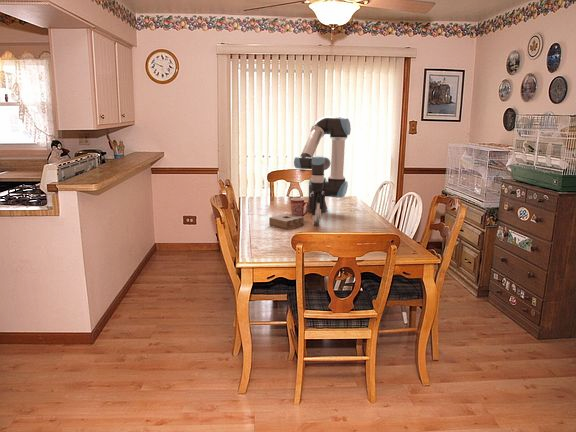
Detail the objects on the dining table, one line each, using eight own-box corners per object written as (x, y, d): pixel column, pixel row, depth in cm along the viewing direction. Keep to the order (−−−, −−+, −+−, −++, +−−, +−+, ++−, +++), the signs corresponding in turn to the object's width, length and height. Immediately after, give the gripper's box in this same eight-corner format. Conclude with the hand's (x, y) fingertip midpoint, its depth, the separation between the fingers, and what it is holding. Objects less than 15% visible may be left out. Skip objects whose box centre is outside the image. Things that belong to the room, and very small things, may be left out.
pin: (316, 224, 294) (316, 202, 291) (320, 225, 292) (320, 203, 289) (312, 225, 292) (313, 203, 289) (316, 226, 290) (317, 203, 287)
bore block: (287, 221, 302) (287, 213, 301) (303, 225, 292) (303, 217, 291) (269, 225, 290) (269, 217, 289) (286, 229, 281) (286, 221, 280)
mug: (288, 220, 303) (289, 199, 300) (292, 217, 312) (292, 197, 309) (308, 221, 300) (308, 201, 297) (310, 218, 309) (311, 198, 306)
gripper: (321, 179, 294) (320, 216, 300) (303, 182, 283) (303, 220, 288) (330, 181, 289) (329, 218, 295) (313, 184, 278) (312, 222, 283)
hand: (316, 219), depth 291 cm, fingers closed on pin, 3 cm apart
